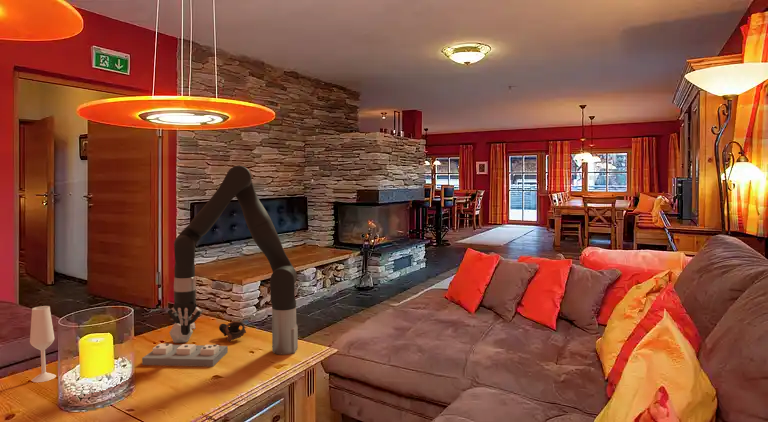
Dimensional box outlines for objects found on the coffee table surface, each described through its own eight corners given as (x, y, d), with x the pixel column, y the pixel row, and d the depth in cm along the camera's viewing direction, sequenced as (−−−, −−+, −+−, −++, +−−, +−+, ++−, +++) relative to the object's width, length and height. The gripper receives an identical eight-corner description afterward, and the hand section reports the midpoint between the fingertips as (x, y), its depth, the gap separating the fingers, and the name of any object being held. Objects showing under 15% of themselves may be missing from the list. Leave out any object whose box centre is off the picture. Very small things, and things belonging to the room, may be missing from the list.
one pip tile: (195, 352, 181) (195, 343, 180) (189, 357, 176) (189, 348, 175) (182, 351, 181) (182, 343, 181) (176, 356, 176) (176, 348, 176)
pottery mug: (249, 335, 206) (250, 322, 202) (239, 351, 198) (240, 338, 194) (223, 327, 207) (223, 314, 203) (212, 343, 199) (212, 329, 195)
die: (181, 348, 191) (195, 326, 194) (162, 337, 191) (177, 316, 194) (185, 348, 199) (199, 327, 202) (167, 338, 199) (181, 317, 202)
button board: (227, 352, 185) (227, 345, 185) (213, 366, 171) (213, 359, 171) (162, 350, 186) (161, 344, 186) (142, 364, 172) (142, 358, 172)
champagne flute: (61, 374, 163) (58, 305, 161) (43, 383, 156) (40, 311, 155) (44, 373, 164) (41, 304, 162) (26, 381, 157) (23, 310, 156)
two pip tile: (172, 351, 181) (172, 343, 181) (166, 356, 176) (165, 347, 176) (159, 351, 181) (159, 342, 181) (152, 356, 176) (152, 347, 176)
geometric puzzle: (172, 330, 204) (181, 316, 203) (182, 325, 211) (191, 312, 210) (183, 341, 204) (193, 327, 202) (193, 335, 210) (202, 322, 209)
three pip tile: (219, 352, 180) (219, 344, 180) (213, 357, 175) (213, 348, 175) (206, 352, 180) (206, 343, 180) (200, 357, 175) (200, 348, 175)
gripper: (206, 286, 180) (207, 331, 181) (172, 285, 181) (173, 330, 182) (198, 291, 173) (198, 338, 174) (162, 290, 173) (163, 337, 174)
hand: (185, 334), depth 178 cm, fingers closed
